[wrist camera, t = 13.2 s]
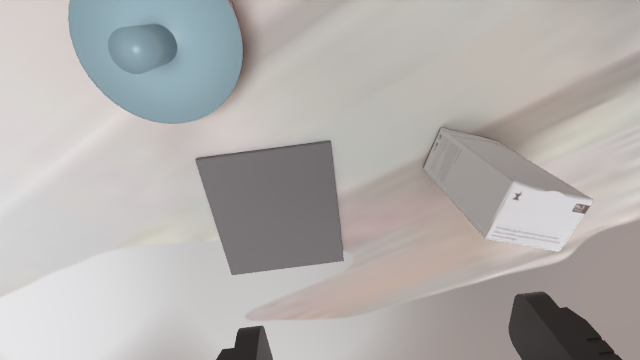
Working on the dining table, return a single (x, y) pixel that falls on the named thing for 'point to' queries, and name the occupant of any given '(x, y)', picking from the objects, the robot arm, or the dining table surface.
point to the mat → (274, 206)
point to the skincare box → (504, 191)
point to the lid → (159, 54)
